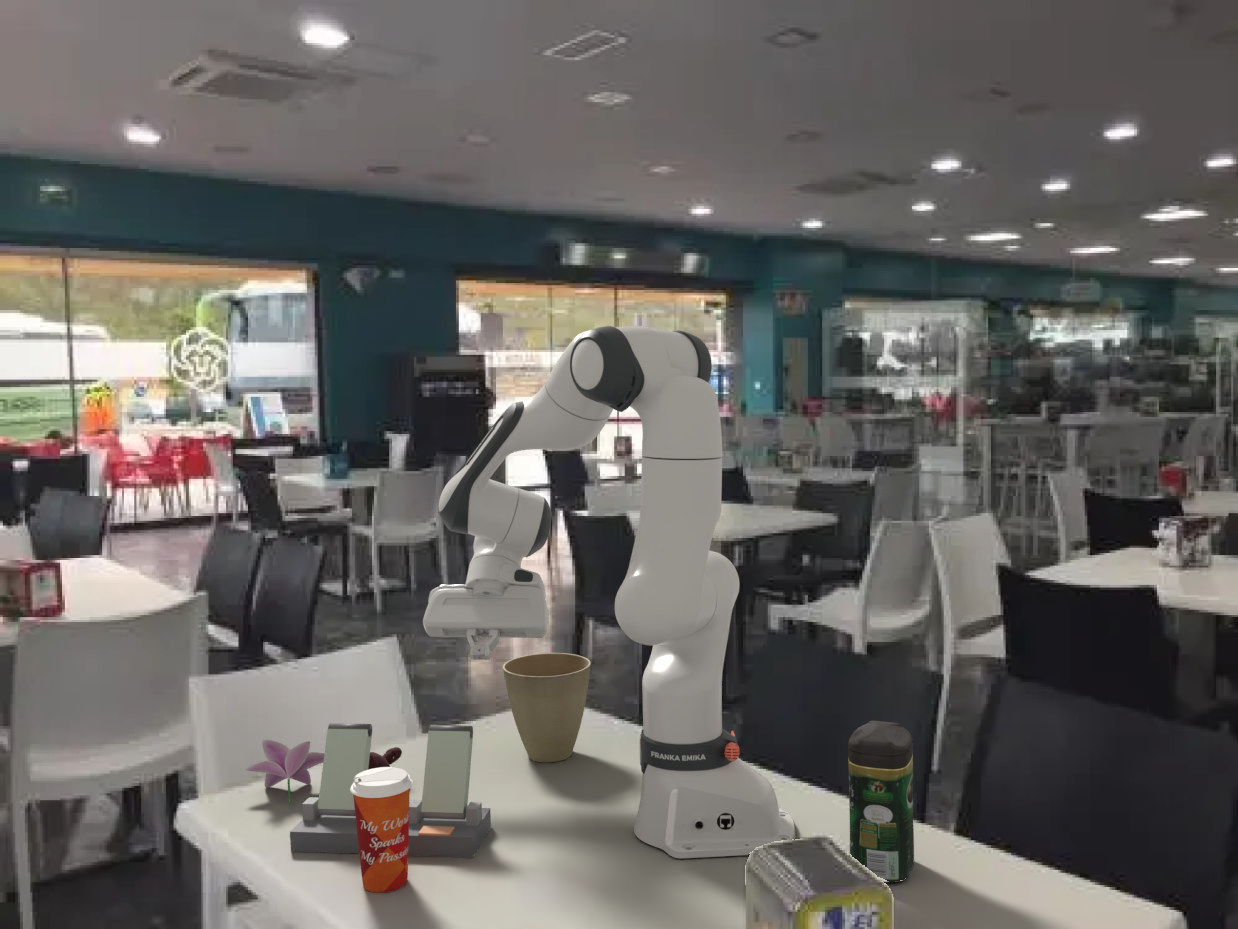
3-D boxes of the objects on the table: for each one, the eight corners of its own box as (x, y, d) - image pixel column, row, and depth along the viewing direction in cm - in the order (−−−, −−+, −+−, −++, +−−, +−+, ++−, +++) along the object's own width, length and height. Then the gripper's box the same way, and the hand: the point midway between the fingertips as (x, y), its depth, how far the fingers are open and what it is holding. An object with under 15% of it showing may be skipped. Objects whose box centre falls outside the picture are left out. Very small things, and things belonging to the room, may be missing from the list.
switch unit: (490, 827, 154) (489, 792, 153) (472, 858, 144) (471, 820, 143) (320, 822, 157) (318, 787, 157) (290, 851, 147) (289, 814, 147)
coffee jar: (857, 849, 144) (856, 713, 143) (917, 858, 141) (917, 719, 140) (843, 880, 135) (842, 736, 134) (907, 890, 132) (907, 743, 131)
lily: (345, 795, 170) (337, 735, 174) (308, 792, 159) (299, 728, 163) (278, 815, 172) (271, 756, 176) (236, 814, 161) (229, 750, 165)
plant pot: (505, 743, 190) (502, 655, 188) (589, 738, 191) (586, 651, 190) (505, 774, 175) (502, 678, 174) (596, 768, 176) (594, 673, 175)
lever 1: (362, 816, 151) (373, 724, 156) (357, 816, 149) (368, 723, 154) (322, 815, 152) (333, 724, 157) (316, 814, 150) (328, 722, 155)
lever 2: (466, 820, 149) (473, 726, 154) (462, 819, 148) (470, 725, 152) (424, 818, 150) (433, 726, 155) (420, 818, 148) (429, 724, 153)
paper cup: (360, 902, 132) (355, 791, 131) (349, 876, 139) (345, 771, 138) (422, 889, 135) (418, 780, 134) (409, 864, 142) (405, 761, 141)
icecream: (355, 774, 158) (420, 752, 171) (319, 755, 162) (385, 734, 175) (345, 818, 159) (410, 792, 172) (309, 798, 162) (376, 774, 176)
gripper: (427, 574, 177) (410, 647, 168) (549, 574, 174) (538, 648, 165) (436, 595, 182) (420, 667, 173) (555, 595, 179) (545, 669, 170)
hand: (479, 658), depth 169 cm, fingers closed
